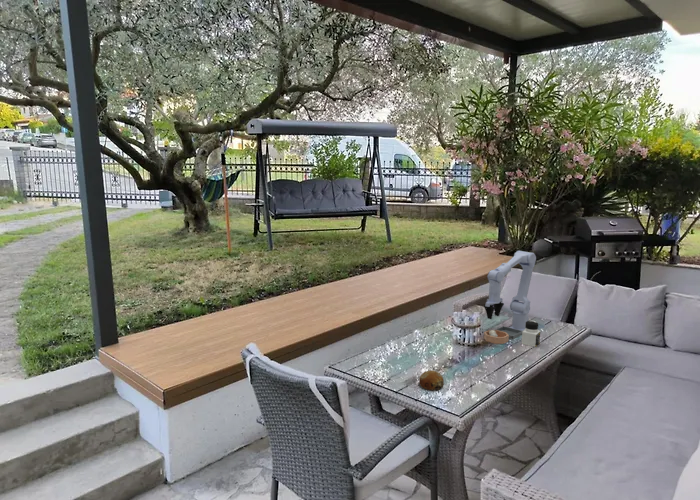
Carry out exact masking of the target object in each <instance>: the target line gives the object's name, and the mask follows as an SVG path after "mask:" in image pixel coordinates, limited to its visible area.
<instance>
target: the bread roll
mask: <svg viewBox="0 0 700 500" xmlns="http://www.w3.org/2000/svg"><path fill="white" fill-rule="evenodd" d="M418 379H419V380H418V382H419V385H420V387H421V388H423V389H424V390H426V391H439V390H441V389H442V388H443V387H444V385H445V383H444V381H445V380H444V377H443V375H442V374H441V373H440V372H438V371H436V370H432V369H431V370H425V371H424V372H422V373H421V374H420V376H419V378H418Z"/></svg>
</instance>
